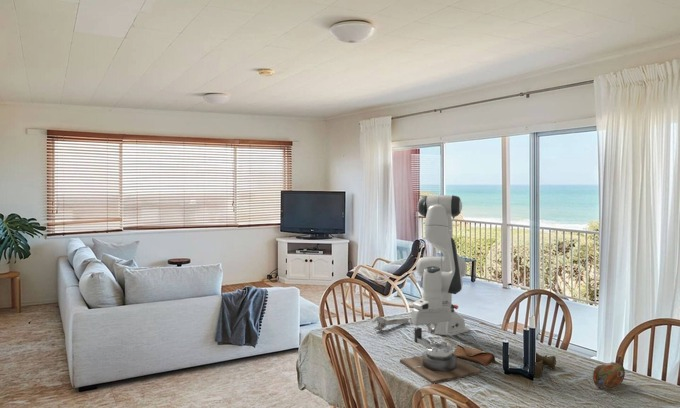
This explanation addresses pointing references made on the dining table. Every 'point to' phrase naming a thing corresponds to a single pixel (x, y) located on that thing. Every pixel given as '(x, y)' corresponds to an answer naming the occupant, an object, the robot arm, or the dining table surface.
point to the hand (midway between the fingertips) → (431, 332)
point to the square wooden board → (439, 368)
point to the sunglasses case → (474, 355)
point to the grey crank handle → (434, 347)
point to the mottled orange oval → (608, 375)
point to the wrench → (389, 322)
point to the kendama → (543, 363)
